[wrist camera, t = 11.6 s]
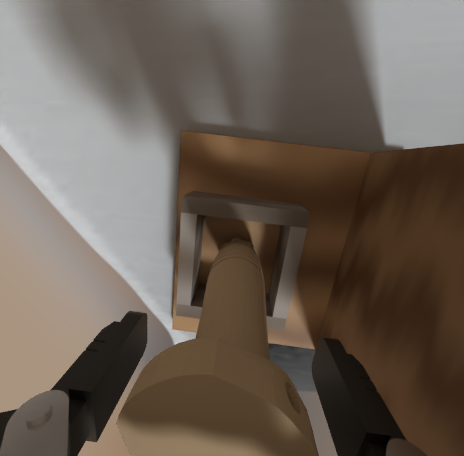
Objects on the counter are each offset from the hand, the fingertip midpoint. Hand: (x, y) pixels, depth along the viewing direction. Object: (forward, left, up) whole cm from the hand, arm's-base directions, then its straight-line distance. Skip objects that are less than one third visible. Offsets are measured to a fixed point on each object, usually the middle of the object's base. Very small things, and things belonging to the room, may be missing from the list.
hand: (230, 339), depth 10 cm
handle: (0, 0, -11) cm, 11 cm away
